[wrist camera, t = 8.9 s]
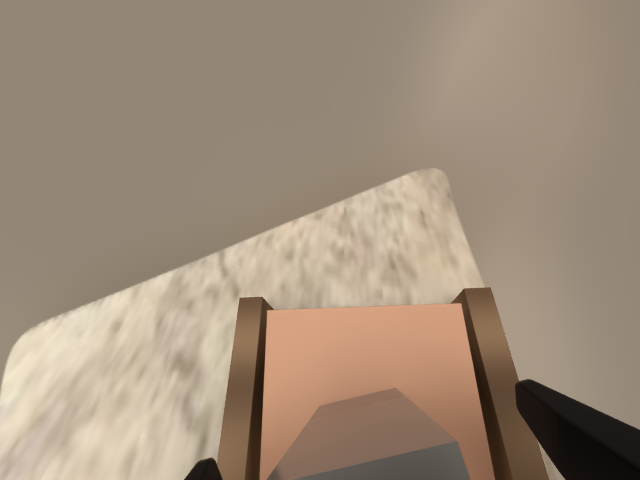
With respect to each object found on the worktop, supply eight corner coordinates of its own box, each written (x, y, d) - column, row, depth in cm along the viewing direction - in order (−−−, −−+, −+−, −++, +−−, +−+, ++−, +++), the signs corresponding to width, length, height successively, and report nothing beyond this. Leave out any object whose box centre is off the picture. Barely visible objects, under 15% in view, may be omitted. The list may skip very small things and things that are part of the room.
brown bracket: (517, 515, 17) (570, 552, 13) (242, 506, 19) (207, 536, 14) (465, 310, 23) (490, 287, 19) (260, 317, 25) (239, 297, 20)
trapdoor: (471, 480, 18) (501, 513, 14) (277, 476, 19) (258, 506, 15) (443, 312, 21) (461, 303, 18) (281, 317, 23) (267, 310, 19)
